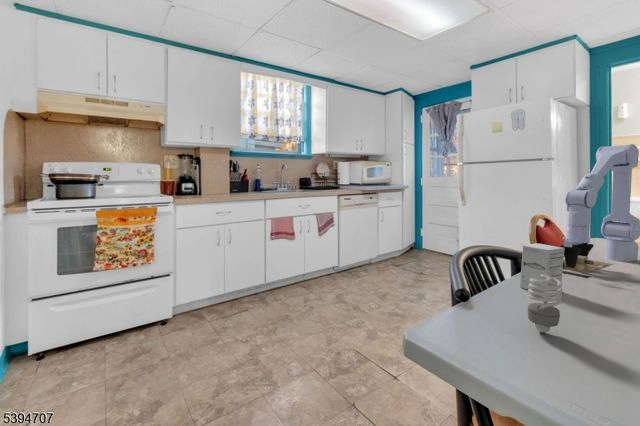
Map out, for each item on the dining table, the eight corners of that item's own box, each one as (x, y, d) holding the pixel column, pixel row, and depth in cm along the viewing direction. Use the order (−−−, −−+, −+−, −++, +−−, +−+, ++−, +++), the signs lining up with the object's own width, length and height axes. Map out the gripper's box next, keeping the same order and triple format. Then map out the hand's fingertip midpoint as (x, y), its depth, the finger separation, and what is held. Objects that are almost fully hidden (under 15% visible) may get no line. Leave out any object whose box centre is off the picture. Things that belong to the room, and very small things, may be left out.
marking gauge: (569, 265, 111) (570, 254, 111) (594, 270, 105) (595, 258, 105) (564, 266, 109) (565, 255, 108) (589, 271, 103) (590, 259, 103)
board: (582, 262, 120) (582, 254, 120) (613, 268, 113) (613, 259, 112) (554, 271, 109) (555, 262, 108) (586, 278, 101) (587, 269, 101)
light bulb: (527, 324, 69) (530, 269, 68) (559, 331, 65) (564, 274, 64) (523, 333, 65) (527, 276, 63) (558, 342, 61) (562, 281, 60)
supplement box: (518, 287, 93) (521, 244, 91) (534, 284, 96) (537, 242, 94) (545, 295, 86) (549, 249, 85) (562, 291, 89) (565, 247, 88)
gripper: (573, 223, 114) (570, 260, 115) (554, 226, 106) (551, 266, 107) (598, 225, 108) (595, 264, 109) (580, 228, 100) (576, 271, 101)
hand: (575, 265), depth 108 cm, fingers open, 7 cm apart
